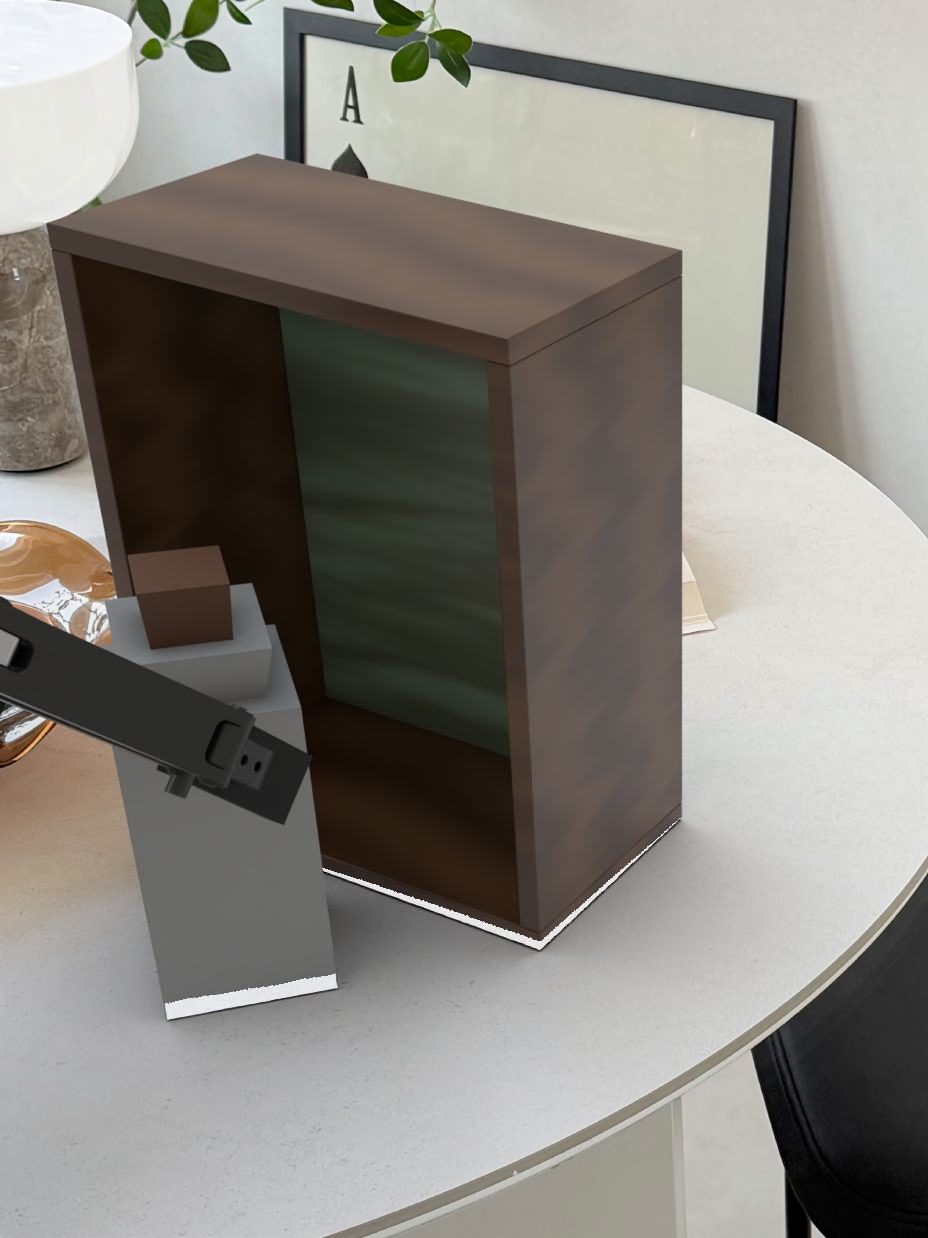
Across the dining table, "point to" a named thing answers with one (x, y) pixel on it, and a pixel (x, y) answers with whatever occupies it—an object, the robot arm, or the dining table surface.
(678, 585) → the cabinet
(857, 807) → the dining table surface
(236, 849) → the perfume bottle
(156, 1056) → the dining table surface
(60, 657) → the robot arm
